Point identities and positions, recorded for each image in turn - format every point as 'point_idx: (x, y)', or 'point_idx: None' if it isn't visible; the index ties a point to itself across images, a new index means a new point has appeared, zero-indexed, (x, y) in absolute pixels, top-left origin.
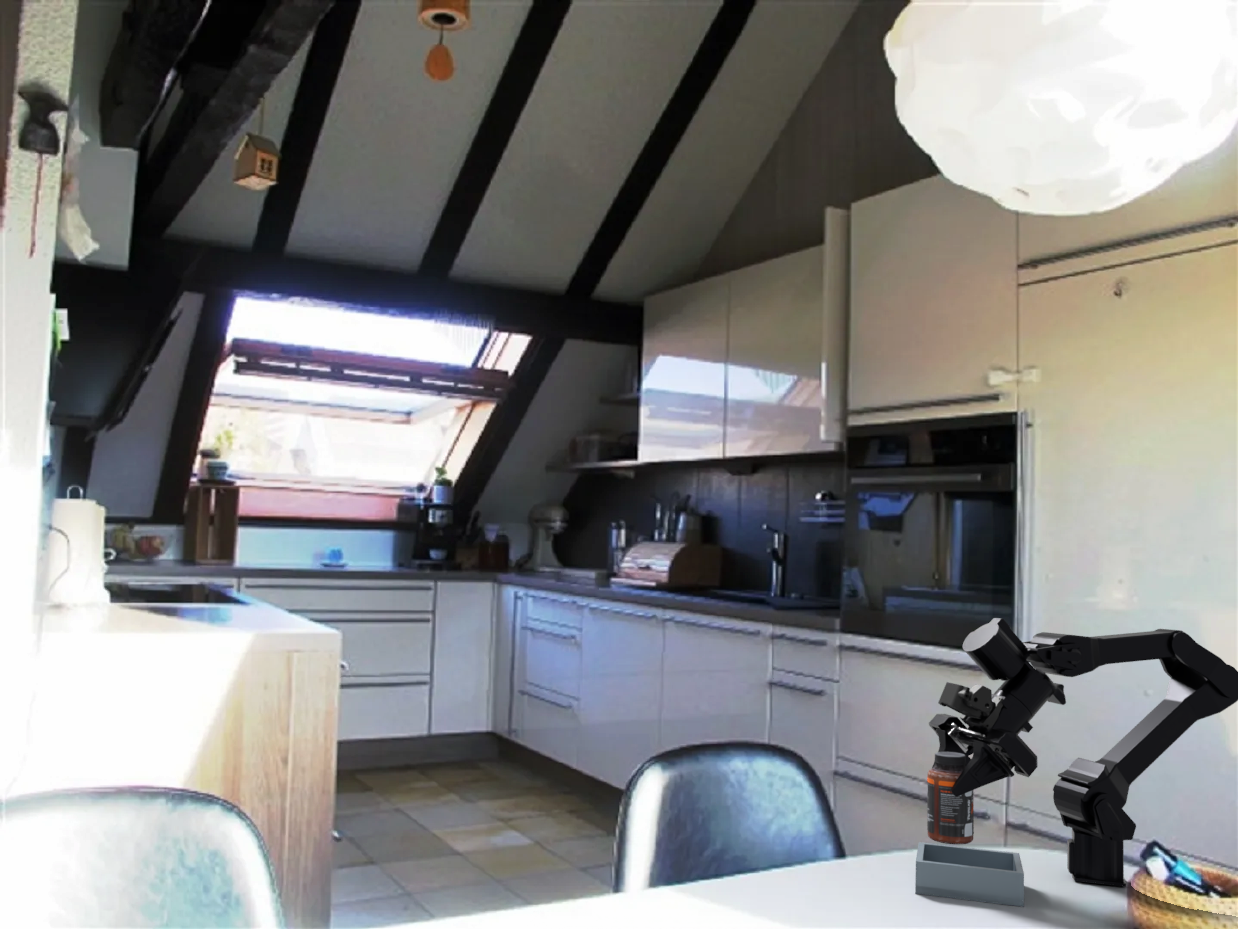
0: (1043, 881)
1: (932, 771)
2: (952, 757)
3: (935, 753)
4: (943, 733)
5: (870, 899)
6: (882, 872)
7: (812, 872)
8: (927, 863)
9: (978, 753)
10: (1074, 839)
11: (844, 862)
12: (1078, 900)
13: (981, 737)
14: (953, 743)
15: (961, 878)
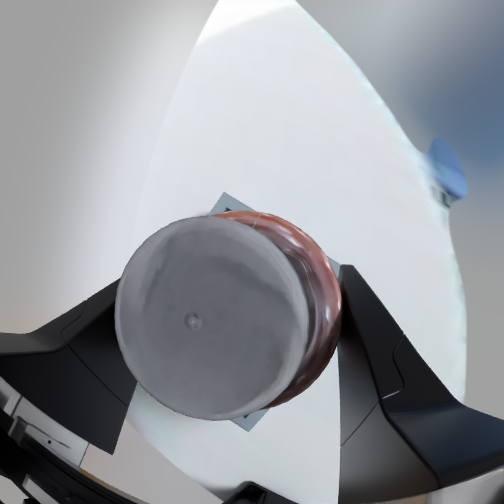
0: (266, 451)
1: (241, 216)
2: (123, 276)
3: (241, 225)
4: (460, 459)
5: (227, 137)
6: (359, 217)
7: (359, 116)
8: (213, 209)
9: (14, 335)
10: None
11: (415, 185)
12: (177, 427)
13: (61, 499)
14: (380, 483)
15: None
